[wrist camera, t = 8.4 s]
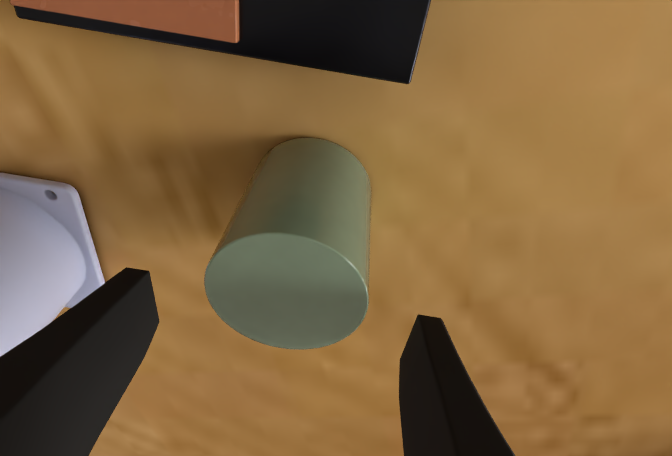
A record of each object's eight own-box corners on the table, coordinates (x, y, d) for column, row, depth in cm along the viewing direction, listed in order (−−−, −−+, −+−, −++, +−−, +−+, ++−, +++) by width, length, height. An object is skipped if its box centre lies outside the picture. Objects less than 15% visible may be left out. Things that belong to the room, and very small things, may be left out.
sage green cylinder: (254, 226, 18) (208, 337, 13) (256, 125, 15) (197, 219, 10) (360, 244, 18) (353, 360, 13) (382, 146, 15) (384, 249, 10)
